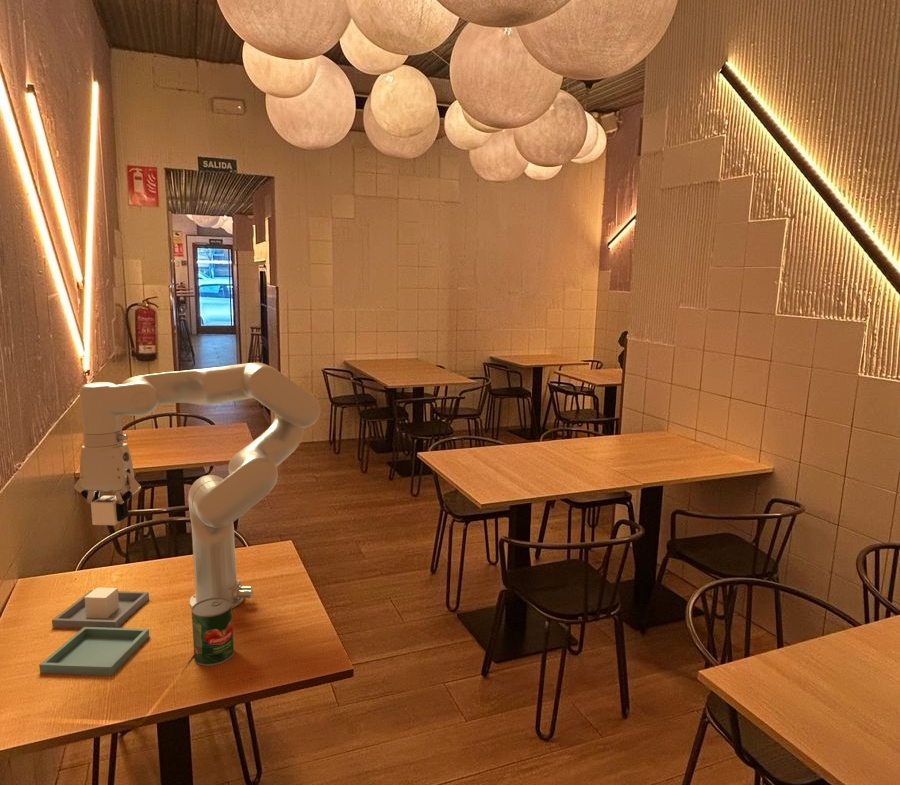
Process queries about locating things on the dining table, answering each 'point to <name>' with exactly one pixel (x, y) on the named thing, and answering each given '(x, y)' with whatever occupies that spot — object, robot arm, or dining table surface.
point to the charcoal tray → (78, 620)
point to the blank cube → (101, 602)
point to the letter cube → (104, 511)
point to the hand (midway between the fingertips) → (109, 518)
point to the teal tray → (95, 651)
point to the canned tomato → (212, 631)
